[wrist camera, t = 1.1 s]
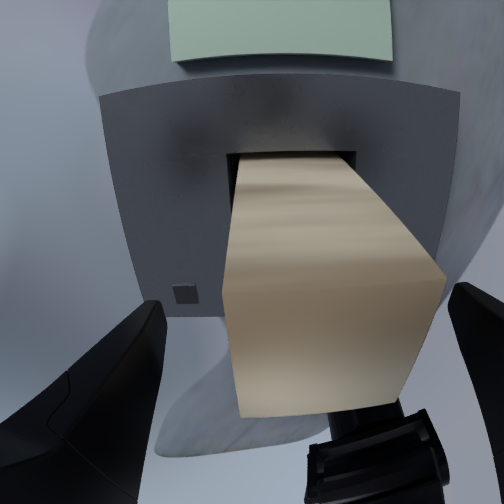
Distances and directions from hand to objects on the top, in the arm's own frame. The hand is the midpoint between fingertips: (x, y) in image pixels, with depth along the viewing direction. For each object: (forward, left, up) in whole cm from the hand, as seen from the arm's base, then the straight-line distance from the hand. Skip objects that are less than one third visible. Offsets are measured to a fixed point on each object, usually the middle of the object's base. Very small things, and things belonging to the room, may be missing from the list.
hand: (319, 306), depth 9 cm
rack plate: (0, 0, -9) cm, 9 cm away
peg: (0, 0, -9) cm, 9 cm away
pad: (+12, 0, -9) cm, 15 cm away
